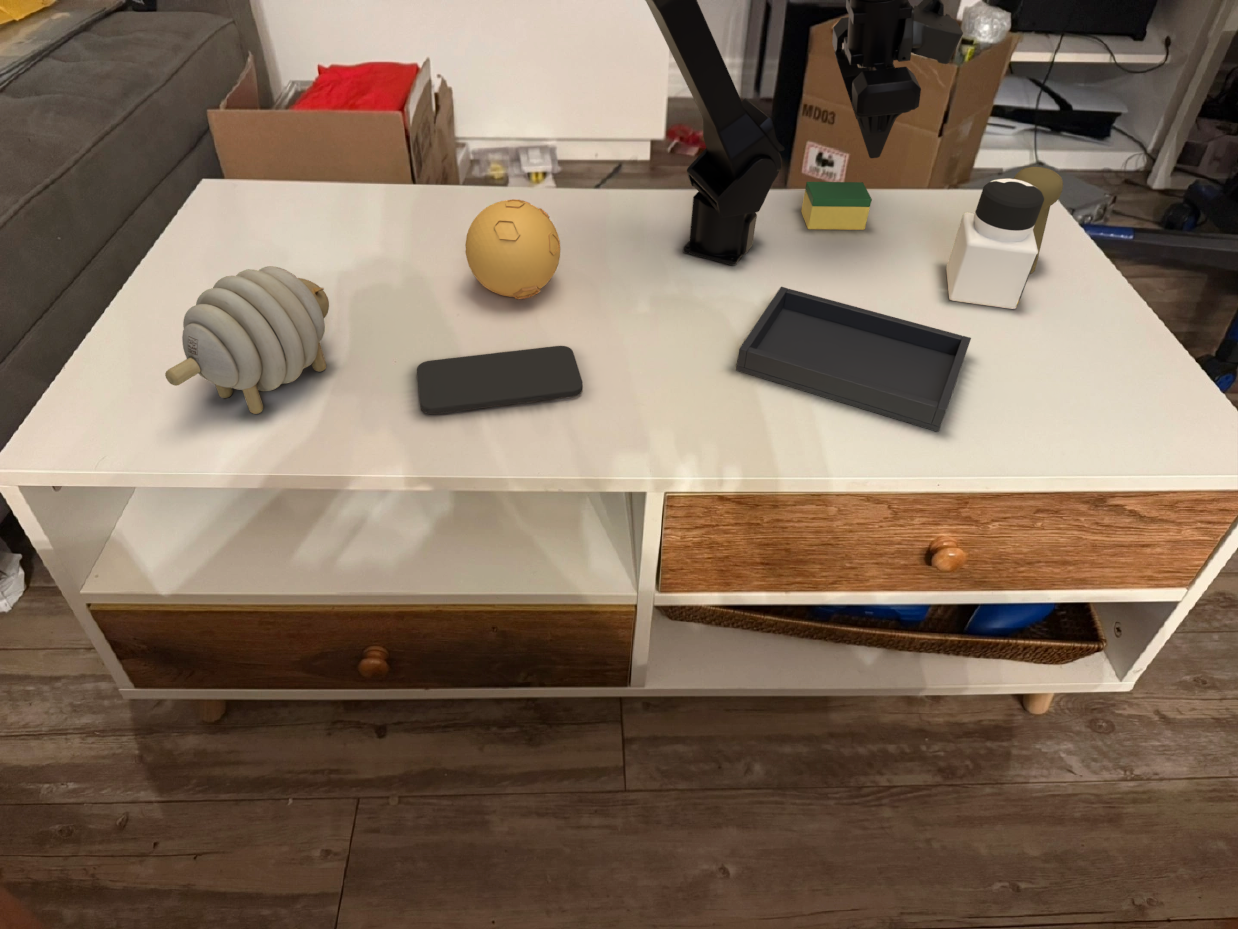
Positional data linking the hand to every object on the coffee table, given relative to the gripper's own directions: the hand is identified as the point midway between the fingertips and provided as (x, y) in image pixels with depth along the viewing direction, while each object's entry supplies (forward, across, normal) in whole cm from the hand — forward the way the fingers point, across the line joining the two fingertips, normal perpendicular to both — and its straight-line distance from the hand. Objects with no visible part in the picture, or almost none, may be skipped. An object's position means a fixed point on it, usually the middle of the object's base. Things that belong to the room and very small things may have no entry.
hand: (867, 137), depth 101 cm
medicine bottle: (+12, -14, -11) cm, 22 cm away
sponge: (+11, 0, +3) cm, 11 cm away
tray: (+8, -29, +6) cm, 31 cm away
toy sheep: (0, -36, +61) cm, 70 cm away
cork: (+13, -8, -16) cm, 22 cm away
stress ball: (+4, -18, +40) cm, 44 cm away
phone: (+3, -34, +39) cm, 52 cm away
